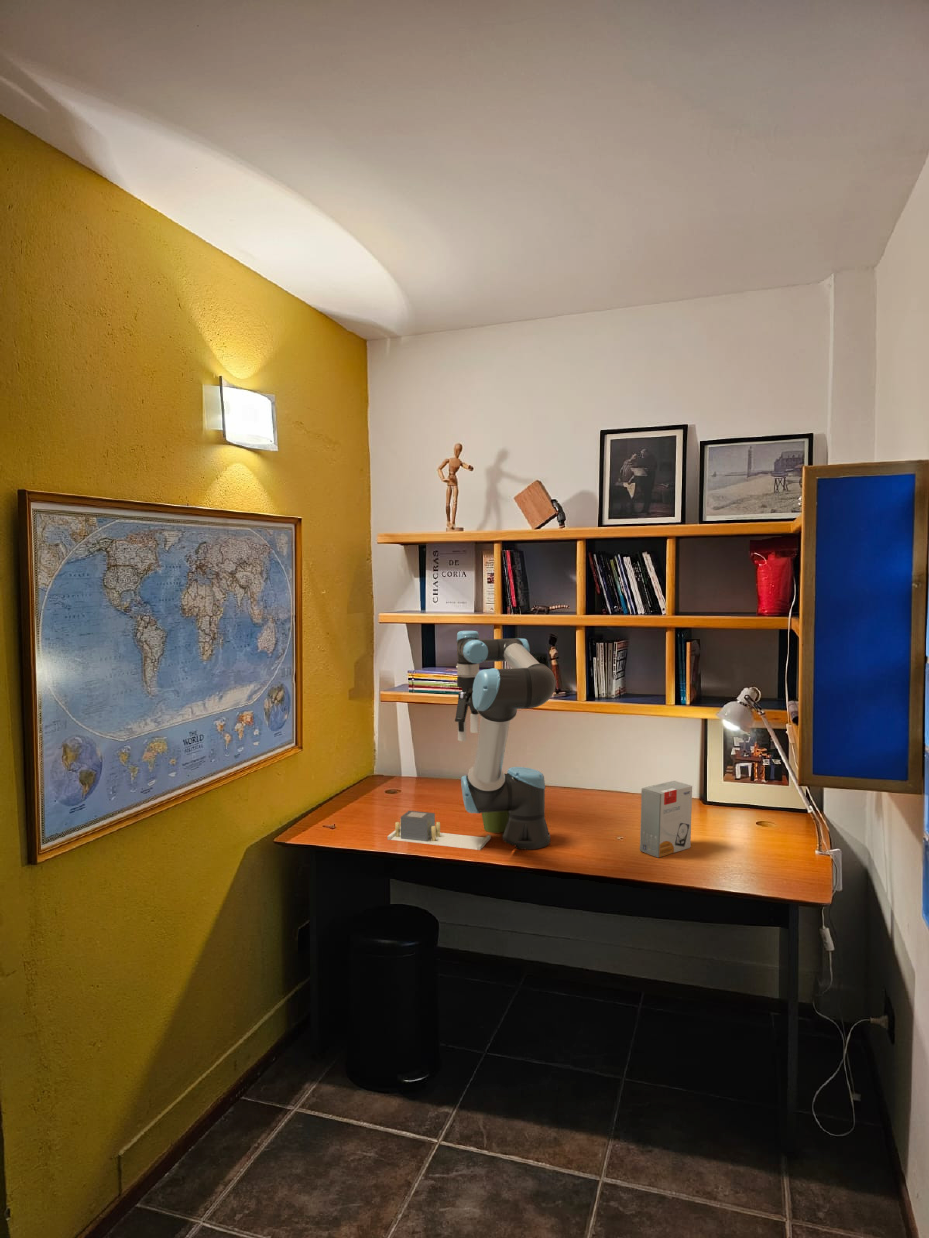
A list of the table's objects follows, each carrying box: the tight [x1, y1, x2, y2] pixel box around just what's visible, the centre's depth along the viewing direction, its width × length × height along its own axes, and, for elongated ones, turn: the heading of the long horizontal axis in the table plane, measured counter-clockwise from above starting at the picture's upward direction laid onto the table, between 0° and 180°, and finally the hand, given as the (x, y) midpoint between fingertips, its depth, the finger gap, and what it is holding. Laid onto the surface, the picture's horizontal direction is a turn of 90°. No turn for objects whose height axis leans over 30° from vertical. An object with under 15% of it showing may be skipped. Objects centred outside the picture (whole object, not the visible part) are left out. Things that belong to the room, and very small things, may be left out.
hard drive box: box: [639, 780, 693, 858], centre depth 246 cm, size 16×8×20 cm, turn 126°
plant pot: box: [481, 811, 508, 834], centre depth 263 cm, size 12×12×11 cm
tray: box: [387, 818, 491, 851], centre depth 255 cm, size 31×11×6 cm, turn 71°
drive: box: [400, 810, 436, 841], centre depth 257 cm, size 9×7×7 cm
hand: (468, 736), depth 277 cm, fingers open, 13 cm apart
